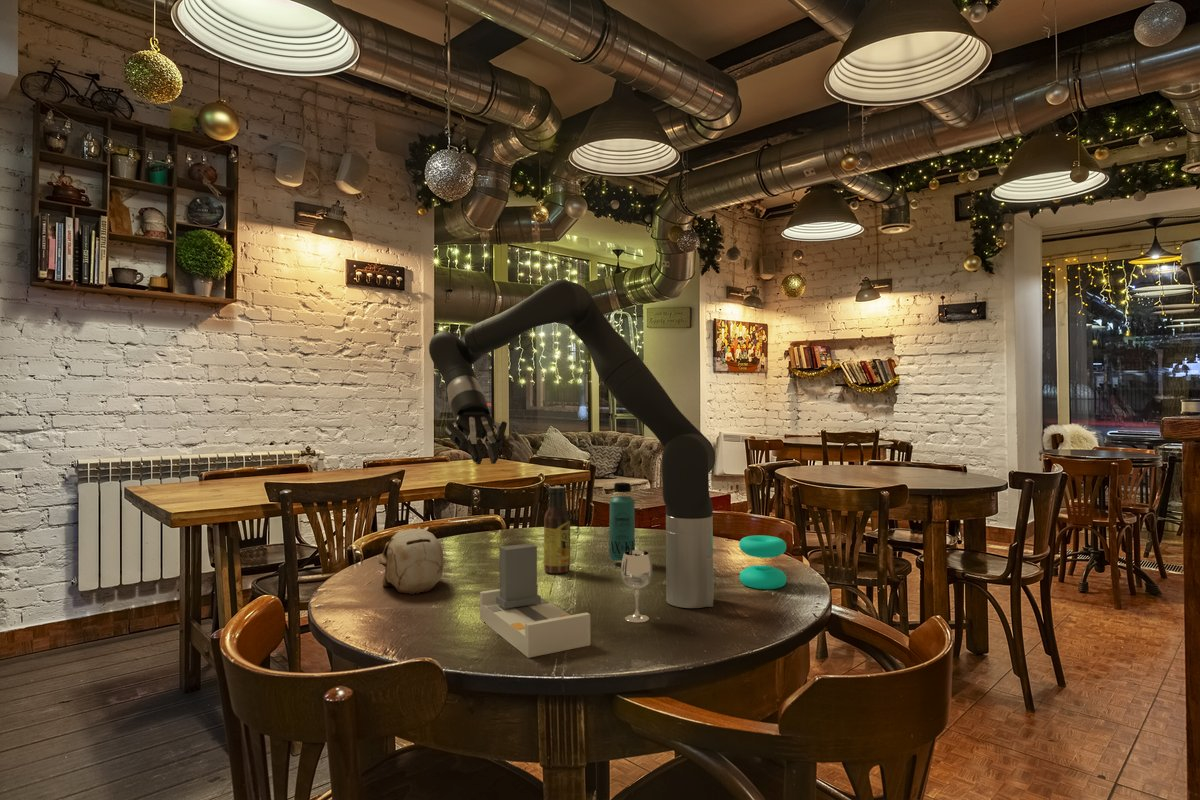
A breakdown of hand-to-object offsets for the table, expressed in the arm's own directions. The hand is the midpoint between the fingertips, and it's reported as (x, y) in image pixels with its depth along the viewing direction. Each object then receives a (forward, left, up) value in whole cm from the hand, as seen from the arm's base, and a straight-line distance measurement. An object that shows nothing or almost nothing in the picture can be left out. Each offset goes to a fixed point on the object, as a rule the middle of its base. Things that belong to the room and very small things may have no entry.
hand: (487, 461), depth 137 cm
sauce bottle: (-8, -25, -28) cm, 39 cm away
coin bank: (+20, -8, -28) cm, 36 cm away
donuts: (-55, -21, -28) cm, 65 cm away
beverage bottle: (-22, -35, -28) cm, 50 cm away
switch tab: (-10, +12, -25) cm, 29 cm away
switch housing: (-14, +17, -28) cm, 36 cm away
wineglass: (-31, +7, -28) cm, 42 cm away
